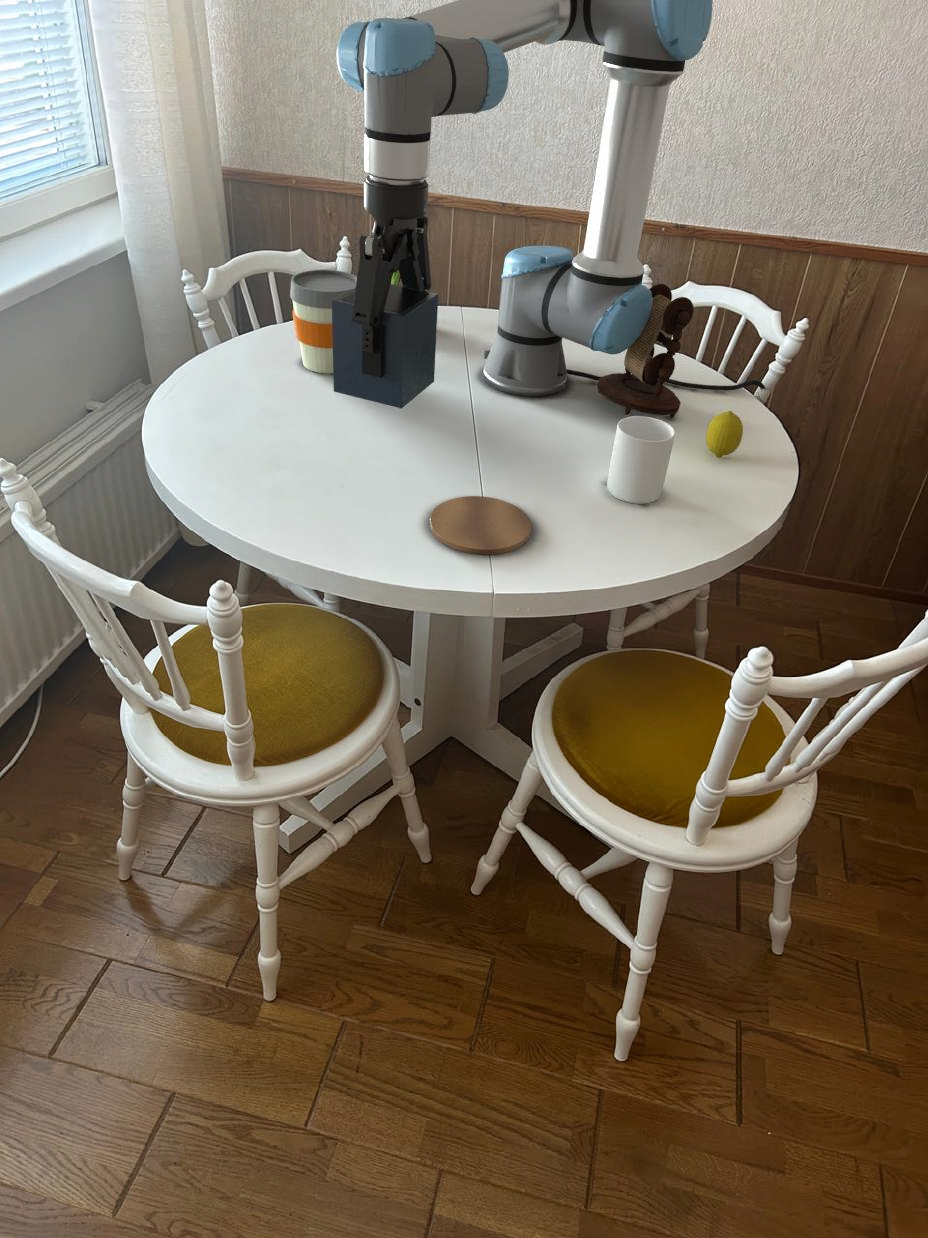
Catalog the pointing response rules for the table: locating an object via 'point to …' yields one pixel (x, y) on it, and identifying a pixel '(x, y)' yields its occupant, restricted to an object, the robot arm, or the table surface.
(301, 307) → the reusable coffee cup
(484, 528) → the cork trivet
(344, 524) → the table surface
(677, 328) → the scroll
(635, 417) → the mug
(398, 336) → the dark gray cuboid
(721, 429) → the lemon
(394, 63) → the robot arm
